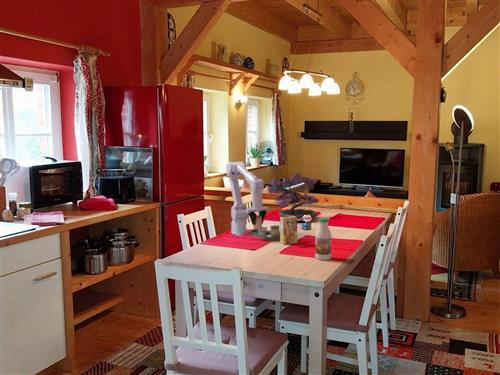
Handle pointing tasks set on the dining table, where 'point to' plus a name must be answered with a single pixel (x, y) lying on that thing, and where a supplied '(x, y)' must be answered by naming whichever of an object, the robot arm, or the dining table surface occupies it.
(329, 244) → the milk bottle
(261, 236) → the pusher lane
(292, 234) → the candy box
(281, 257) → the dining table surface
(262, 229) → the plate
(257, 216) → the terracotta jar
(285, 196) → the bonsai tree
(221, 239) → the dining table surface
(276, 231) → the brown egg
